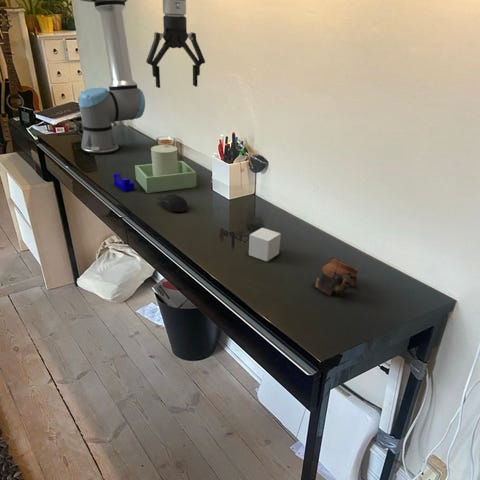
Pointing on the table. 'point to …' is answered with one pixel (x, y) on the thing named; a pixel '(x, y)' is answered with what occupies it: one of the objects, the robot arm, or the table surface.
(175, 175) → the bin
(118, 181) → the cable holder
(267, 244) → the white cube
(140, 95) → the robot arm
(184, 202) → the gaming mouse
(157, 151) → the can
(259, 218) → the table surface
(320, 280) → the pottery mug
